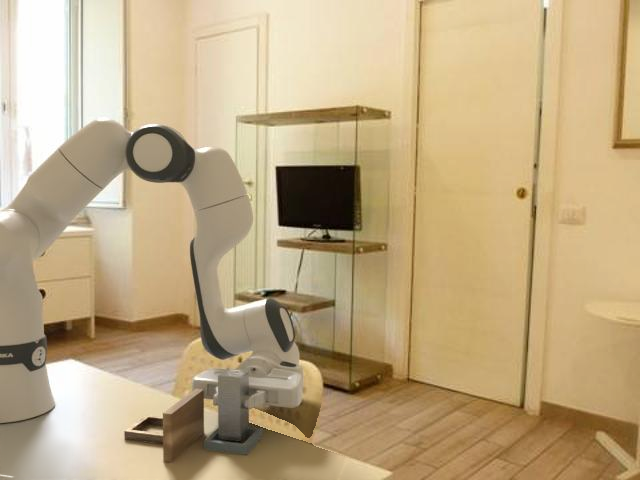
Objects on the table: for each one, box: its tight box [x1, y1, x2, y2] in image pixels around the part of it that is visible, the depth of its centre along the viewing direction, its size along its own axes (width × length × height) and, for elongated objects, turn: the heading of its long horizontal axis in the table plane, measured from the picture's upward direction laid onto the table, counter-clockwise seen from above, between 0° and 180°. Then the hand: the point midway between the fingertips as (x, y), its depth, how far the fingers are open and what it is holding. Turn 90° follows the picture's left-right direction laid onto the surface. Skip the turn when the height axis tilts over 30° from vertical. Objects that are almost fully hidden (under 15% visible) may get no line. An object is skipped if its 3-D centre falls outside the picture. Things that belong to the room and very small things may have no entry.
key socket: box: [123, 414, 163, 445], centre depth 109 cm, size 8×8×2 cm
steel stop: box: [217, 368, 250, 442], centre depth 105 cm, size 4×4×11 cm
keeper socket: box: [203, 426, 263, 456], centre depth 106 cm, size 8×8×2 cm
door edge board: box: [162, 389, 205, 463], centre depth 104 cm, size 2×12×8 cm, turn 166°
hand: (231, 403), depth 104 cm, fingers closed on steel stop, 4 cm apart
